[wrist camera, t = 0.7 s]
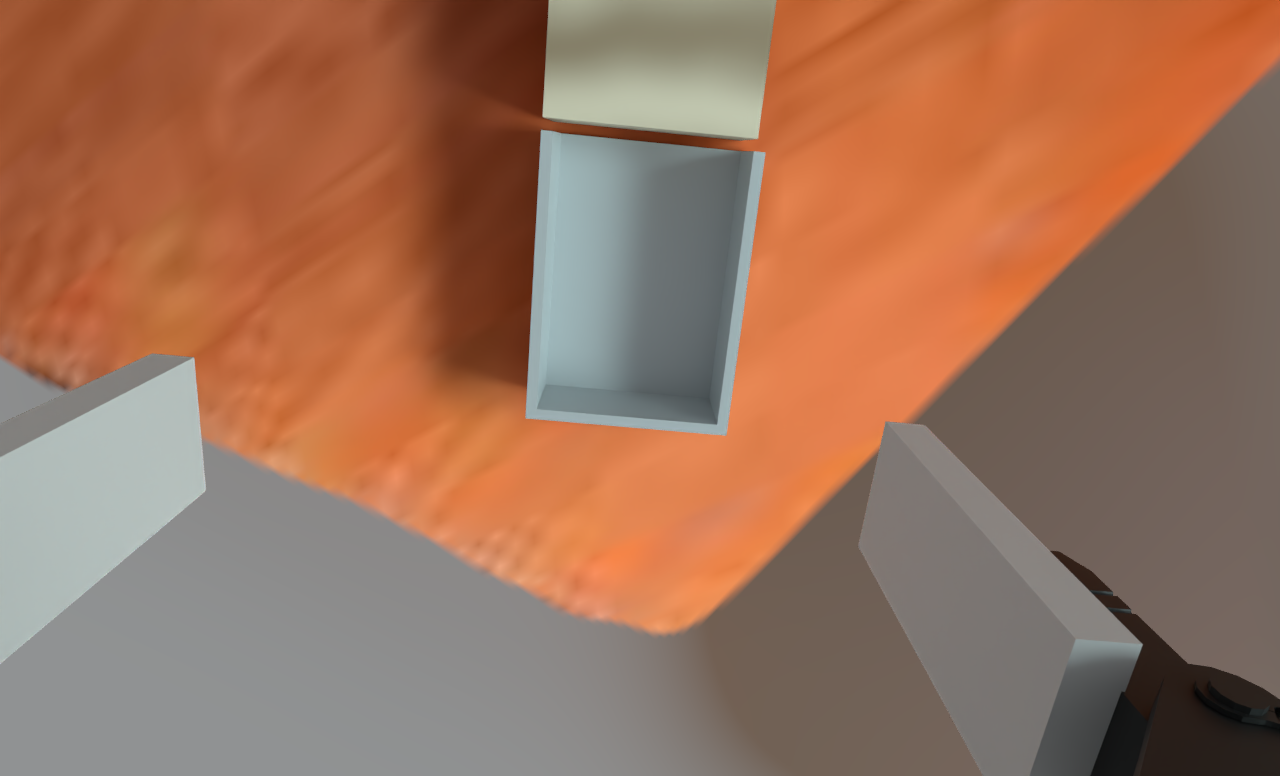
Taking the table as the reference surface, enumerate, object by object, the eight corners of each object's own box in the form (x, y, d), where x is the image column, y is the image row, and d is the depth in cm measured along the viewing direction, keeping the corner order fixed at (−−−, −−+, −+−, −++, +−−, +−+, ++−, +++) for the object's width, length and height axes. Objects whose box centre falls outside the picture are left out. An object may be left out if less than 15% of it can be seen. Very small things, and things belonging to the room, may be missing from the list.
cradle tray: (551, 132, 36) (541, 129, 32) (750, 152, 37) (765, 152, 32) (536, 390, 40) (525, 418, 36) (716, 406, 41) (726, 435, 36)
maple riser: (565, -68, 34) (554, -104, 29) (765, -46, 34) (786, -78, 29) (554, 121, 36) (542, 117, 31) (741, 140, 36) (757, 138, 32)
